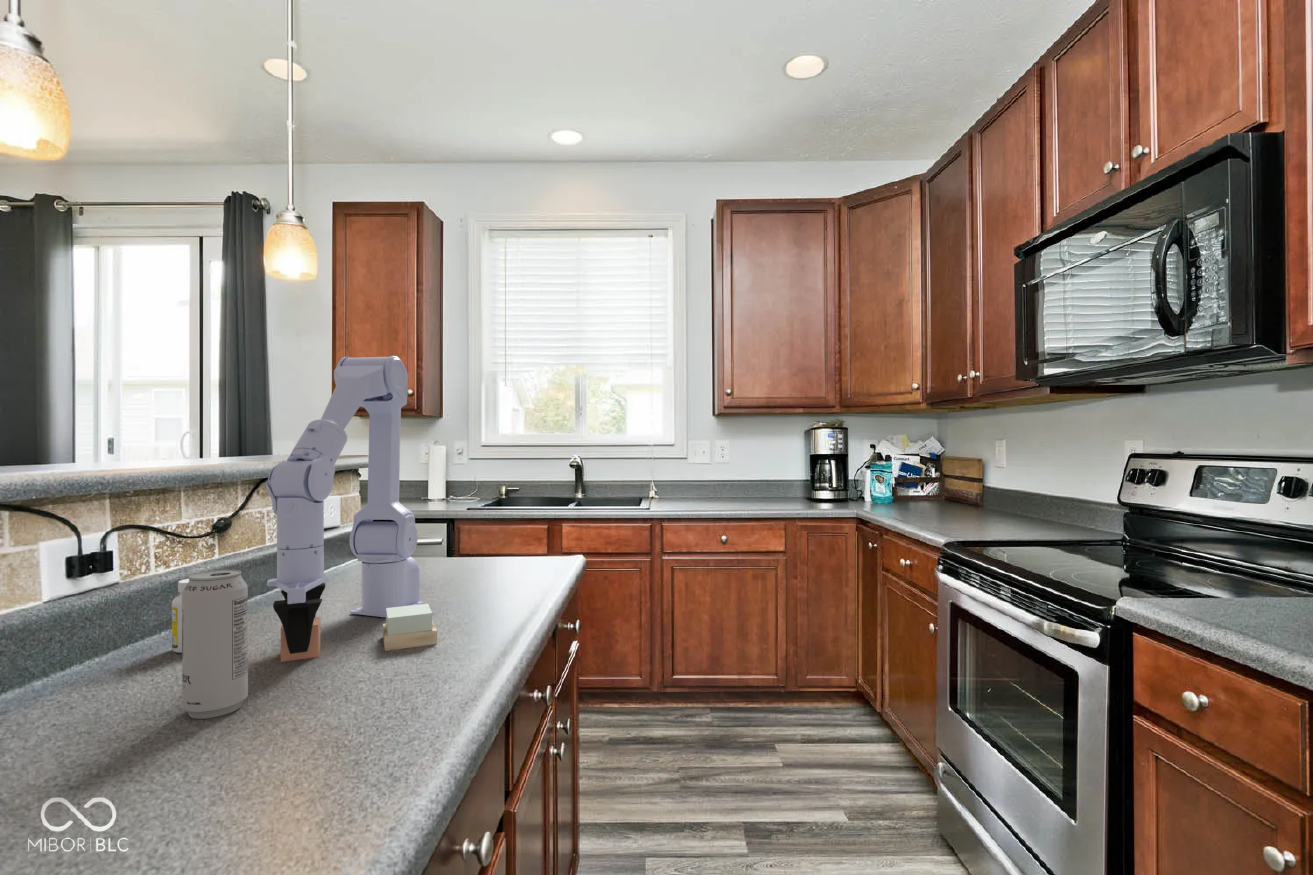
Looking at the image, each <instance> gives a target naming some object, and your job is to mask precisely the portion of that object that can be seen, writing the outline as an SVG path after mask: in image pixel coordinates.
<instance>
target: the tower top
mask: <svg viewBox="0 0 1313 875" xmlns="http://www.w3.org/2000/svg"><path fill="white" fill-rule="evenodd" d="M385 620H386V621H385V624H386V627H387V633H388V636H390V635H398V634H406V633H414V632H422V631H429V630H432V620H433V612H432V609H431V608H430V605H429V603H424V604H419V605H410V606H401V607H392V608H386V617H385Z"/></svg>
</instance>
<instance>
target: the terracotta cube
mask: <svg viewBox="0 0 1313 875" xmlns="http://www.w3.org/2000/svg"><path fill="white" fill-rule="evenodd" d="M320 651H321V616H315V618H314V621H313V626H312V632H311V639H310V644H309V648H308V651H307V652H301V653H293V654H290V652H289V649H288V646H287V641H286V637H285V632H284V628H283V625H282V624H281V628H280V662H283V663H284V662H290V661H298V660H306V659H312V658H313V659H314V658H319V657H320Z"/></svg>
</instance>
